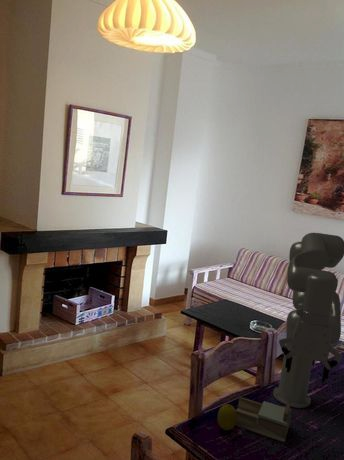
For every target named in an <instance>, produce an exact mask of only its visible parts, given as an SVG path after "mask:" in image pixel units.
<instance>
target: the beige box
mask: <svg viewBox="0 0 344 460" xmlns="http://www.w3.org/2000/svg"><path fill="white" fill-rule="evenodd" d="M237 404H238V405H237V409H235V410H236V413H237V421H236V424H235V426H236V427H238V428H241V429H244V430H248V431H249V432H253V433H256V434H258V435H259V434H260V435H262V436H264V437H268V438H271V439H275V440H277V441H280V442H281V443H282V442H283V443H286V439H287V434H288V432H289V427H290V422H291V416H292V412H290V416H289V419H288V423H287V426H284V425H281V424H278V423H275V422H272V421H268V420H265V419H262V418H259V417H258V413H259V411H260V409H261V406H262V404H263V403H261V402H258V401H255V400H251V399H249V398H245V397H243V396H239V397H238V403H237ZM235 426H234V427H235Z"/></svg>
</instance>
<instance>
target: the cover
mask: <svg viewBox="0 0 344 460" xmlns="http://www.w3.org/2000/svg"><path fill="white" fill-rule="evenodd" d="M261 404H262V406H261V409H260V411H259V413H258V417H259V418H262V419H265V420H268V421H272V422H275V423H278V424H281V425H284V426H287V423H288V419H289V416H290V413H292V412H291V411H292V409H291V406H290V405H291V403H289V402H287V405H286V406H285V407H284V406H281V405H277V404H274V403H271V402H268V401H266V400H263V402H262V403H261ZM290 417H291V416H290Z"/></svg>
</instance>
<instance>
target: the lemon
mask: <svg viewBox="0 0 344 460" xmlns="http://www.w3.org/2000/svg"><path fill="white" fill-rule="evenodd" d="M236 410H237V409H236V408H235V407H234V406H233V405H232V404H230V403H228V404H223V405H222V406H221V407H220V408H219V410H218V412H217V422H218V423H217V424H218V426H220V428H221V429H223V430H224V431H230V430H232V429H233V428H234V427H235V424H236V421H237V413H236Z"/></svg>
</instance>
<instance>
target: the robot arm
mask: <svg viewBox="0 0 344 460" xmlns="http://www.w3.org/2000/svg"><path fill="white" fill-rule="evenodd" d="M289 249H290V250H289V254H288V255H289V256H288V257H289V258H288V259H289V260H288V261H289V264H288V266H287V272H286V274H287V277H286V281H287V282H286V283H287V286H288V289H290V290H291V291H292V306H293V308H294V310H291V311H290V312H289V313H288V314H287V317H286V336H285V337H284V338H280V339H279V341H278V342H279V346H280V350H281V352H282V353H283V359H282V365H281V370H280V377H279V383H278V384H279V385H278V386H277V387H274V389H273V393H272V395H273V397H274V399H276V400H277V401H278V402H279V403H281V404H283V405H287V402H289V403H291V405H290V408H291V407H292V408H296V409H305V408H307V407H310V405H311V401H312V399H311V397H310V396H309V394H308V391H309V385H310V378H311V373H312V368H313V367H312V366H313V361H315V362H318V363H322V364H323V372H322V376H321V382H322V383H325V380H328V378H329V372H330V370H331V369H332V368H335V366H337V365H338V364H339V363H340V362H341V361H342V360H343V354H342V353H340V352H339V351H338V350H336V348H334V347H332V346H331V345H335V344H337V343H338V342H339V341H340V339H341V335H342V323H341V322H342V319H341V318H342V317H341V314H342V312H341V298H340V296H339V294H338V293H337V290H338V284H339V280H338V278H337V276H336V274H335V273H334V272H332V271H328V270H325V268H330V269H332V268H335V267H336V266H338V264H339V263H341V261H342V260H343V258H344V239H343V237H341V236H339V235H335V234H328V233H321V232H309V233H307V234H305V235H304V236H303V237H302V238H301V241H296V242H293V243H292V244H291V246H290V248H289ZM330 354H331V355H333V356H334V357H335V358H334V359H332V360H330V359H329V355H330Z"/></svg>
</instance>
